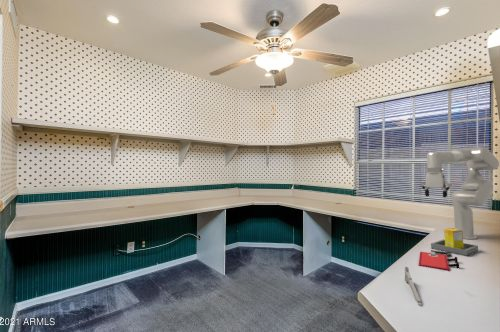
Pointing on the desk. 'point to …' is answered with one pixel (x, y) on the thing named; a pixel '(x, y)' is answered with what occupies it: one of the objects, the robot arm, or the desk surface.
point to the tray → (466, 251)
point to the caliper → (412, 285)
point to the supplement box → (454, 238)
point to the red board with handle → (437, 260)
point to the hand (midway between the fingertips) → (435, 196)
